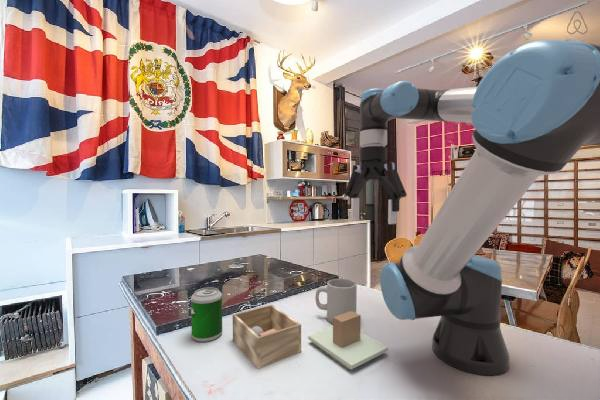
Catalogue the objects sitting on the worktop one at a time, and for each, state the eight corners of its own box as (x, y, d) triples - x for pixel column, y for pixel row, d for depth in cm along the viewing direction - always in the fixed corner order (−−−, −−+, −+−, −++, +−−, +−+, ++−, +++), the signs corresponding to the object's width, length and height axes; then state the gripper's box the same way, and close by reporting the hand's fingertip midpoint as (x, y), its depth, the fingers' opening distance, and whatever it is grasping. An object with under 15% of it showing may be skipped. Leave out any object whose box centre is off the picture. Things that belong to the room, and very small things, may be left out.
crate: (301, 354, 67) (301, 324, 67) (257, 371, 61) (257, 338, 60) (271, 330, 79) (271, 304, 78) (232, 342, 72) (232, 314, 72)
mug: (357, 315, 88) (357, 279, 87) (355, 328, 79) (356, 288, 79) (317, 311, 90) (317, 276, 90) (312, 323, 82) (312, 285, 82)
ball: (266, 342, 71) (266, 327, 71) (252, 346, 69) (252, 332, 69) (259, 336, 74) (259, 322, 74) (246, 340, 72) (246, 326, 72)
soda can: (227, 332, 77) (227, 287, 77) (212, 347, 70) (211, 298, 70) (203, 328, 79) (202, 285, 79) (185, 342, 72) (184, 295, 72)
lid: (388, 355, 66) (388, 321, 65) (351, 374, 59) (351, 336, 59) (342, 329, 78) (343, 300, 77) (308, 343, 71) (308, 311, 70)
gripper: (421, 142, 75) (419, 224, 76) (350, 152, 95) (350, 217, 96) (403, 139, 70) (402, 227, 71) (333, 150, 91) (333, 218, 91)
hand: (372, 221), depth 83 cm, fingers open, 13 cm apart
